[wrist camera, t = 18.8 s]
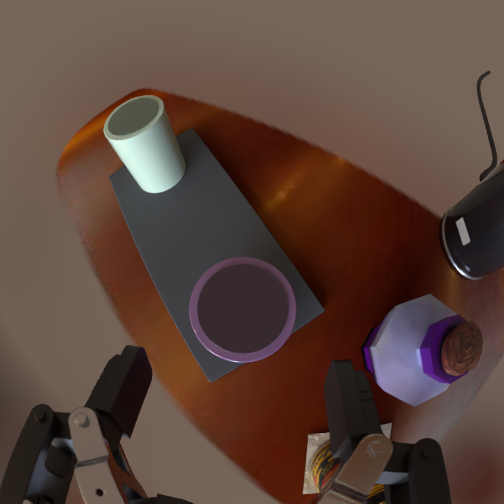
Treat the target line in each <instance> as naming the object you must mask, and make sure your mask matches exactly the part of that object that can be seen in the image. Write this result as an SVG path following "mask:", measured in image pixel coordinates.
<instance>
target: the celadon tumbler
mask: <svg viewBox="0 0 504 504" xmlns="http://www.w3.org/2000/svg"><path fill="white" fill-rule="evenodd" d="M104 134H105V136H106V138H107V139H108V141H109V142H110V144H111V145H112V147H113V148H114V150H115V151H116V153H117V154H118V156H119V157H120V159H121V160H122V162H123V163H124V165H125V166H126V168H127V169H128V171H129V172H130V173H131V175H132V176H133V178H134V179H135V181H136V182H137V184H138V185H139V186H140V188H141V189H143V190H144V191H146V192H150V193H159V192H163V191H166V190H168V189H170V188H172V187H173V186H175V185H176V184H177V183H178V182H179V181H180V180H181V178H182V177H183V175H184V172H185V169H186V162H185V159H184V157H183V154H182V151H181V149H180V146H179V144H178V141H177V138H176V136H175V133H174V130H173V128H172V125H171V122H170V120H169V117H168V114H167V112H166V109H165V106H164V103H163V101H162V100H161V99H160V98H158V97H156V96H151V95H146V96H139V97H136V98H133V99H131V100H128V101H127V102H125V103H123V104H122V105H120V106H119V107H118V108H116V109H115V110H114V111H113V112H112V113H111V114H110V116H109V117H108V119H107V120H106V122H105V125H104Z"/></svg>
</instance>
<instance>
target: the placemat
mask: <svg viewBox="0 0 504 504" xmlns="http://www.w3.org/2000/svg"><path fill="white" fill-rule="evenodd" d="M176 138H177V141H178V144H179V146H180V149H181V151H182V154H183V157H184V159H185V162H186V169H185V172H184V175H183V177H182V178H181V180H180V181H179V182H178V183H177V184H176V185H175V186H173V187H172V188H170V189H168V190H166V191H163V192H159V193H150V192H146V191H144V190H143V189H141V188H140V186H139V185H138V184H137V182H136V181H135V179H134V178H133V176H132V175H131V173H130V172H129V171H128V169H127V168H126V166H124V167H122V168H121V169H119V170H118V171H116V172H115V173H113V174H112V175H110V176H109V178H110V181H111V184H112V186H113V189H114V192H115V195H116V197H117V200H118V202H119V205H120V208H121V210H122V213H123V215H124V218H125V220H126V222H127V225H128V227H129V230H130V232H131V234H132V237H133V239H134V241H135V244H136V246H137V248H138V250H139V252H140V255H141V257H142V259H143V261H144V263H145V266H146V268H147V270H148V272H149V274H150V276H151V278H152V280H153V282H154V284H155V286H156V288H157V290H158V292H159V294H160V296H161V298H162V300H163V302H164V304H165V306H166V308H167V310H168V311H169V313H170V315H171V317H172V319H173V321H174V323H175V324H176V326H177V328H178V330H179V332H180V333H181V335H182V337H183V339H184V340H185V342H186V344H187V345H188V347H189V349H190V351H191V352H192V354H193V356H194V357H195V359H196V361H197V362H198V364H199V366H200V367H201V369H202V370H203V372H204V374H205V375H206V377H207V378H208V380H209V381H210V382H212V381H214V380H216V379H218V378H219V377H221V376H223V375H225V374H227V373H228V372H230V371H232V370H234V369H235V368H237V367H239V366H240V365H242V364H244V363H245V362H233V361H229V360H225V359H223V358H220V357H218V356H216V355H215V354H213V353H212V352H210V351H209V350H208V349H207V348H205V347H204V345H203V344H202V343H201V342H200V341H199V339H198V338H197V336H196V334H195V332H194V330H193V328H192V325H191V321H190V314H189V306H190V299H191V295H192V292H193V289H194V287H195V285H196V283H197V282H198V280H199V279H200V277H201V276H202V275H203V274H204V273H205V272H206V271H207V270H208V269H209V268H211V267H212V266H213V265H215V264H217V263H219V262H221V261H223V260H226V259H229V258H233V257H253V258H257V259H261V260H263V261H266V262H268V263H270V264H271V265H273V266H274V267H276V268H277V269H278V270H279V271H280V272H281V273H282V274H283V275H284V276H285V277H286V278H287V280H288V281H289V283H290V285H291V287H292V289H293V291H294V294H295V298H296V304H297V314H296V321H295V324H294V327H293V330H292V332H291V333H293V332H294V331H296V330H297V329H299V328H300V327H302V326H303V325H305V324H306V323H308V322H309V321H310V320H312V319H313V318H315V317H316V316H318V315H319V314H320V313H322V312H323V311H324V308H323V307H322V305H321V304H320V302H319V301H318V299H317V298H316V296H315V295H314V294H313V292H312V291H311V289H310V288H309V286H308V285H307V283H306V282H305V281H304V279H303V278H302V276H301V275H300V273H299V272H298V271H297V269H296V268H295V266H294V265H293V263H292V262H291V261H290V259H289V258H288V256H287V255H286V254H285V252H284V251H283V249H282V248H281V246H280V245H279V244H278V242H277V241H276V239H275V238H274V237H273V235H272V234H271V233H270V231H269V230H268V228H267V227H266V226H265V224H264V223H263V221H262V220H261V219H260V217H259V216H258V215H257V213H256V212H255V210H254V209H253V208H252V206H251V205H250V204H249V202H248V201H247V200H246V198H245V197H244V195H243V194H242V193H241V191H240V190H239V189H238V187H237V186H236V185H235V183H234V182H233V181H232V179H231V178H230V177H229V175H228V174H227V173H226V171H225V170H224V169H223V167H222V166H221V165H220V163H219V162H218V161H217V159H216V158H215V157H214V155H213V154H212V153H211V151H210V150H209V149H208V147H207V146H206V145H205V144H204V142H203V141H202V140H201V138H200V137H199V136H198V134H197V133H196V132H195V131H194V129H193V128H191V129H189V130H187V131H185V132H183V133H181V134H179V135H177V136H176Z"/></svg>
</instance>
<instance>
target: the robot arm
mask: <svg viewBox="0 0 504 504" xmlns="http://www.w3.org/2000/svg"><path fill="white" fill-rule="evenodd" d="M489 74H490V71H487V72H486V73H484V74H483V75H481V76H480V78H479V79H478V82H477V93H478V100H479V104H480V108H481V112H482V115H483V119H484V123H485V126H486V130H487V134H488V139H489V143H490V146H491V150H492V155H493V161H492V164H491V166H490V167H489V168H488V169H486V170H485V171H484V172H483V173H482V174H481V175H480V183H479V184H478V185H477V186H476V187H475V188H474V189H473V190H472V191H471V192H470V193H469V194H468V195H467V196H465V197H464V198H463V199H462V200H461V201H460V202H459V203H457V204H456V205H455V206H454V207H452V208H451V209H449V210H448V211H447V212H446V213H445V214H444V216H443V217H442V220H441V223H440V242H441V246H442V249H443V252H444V255H445V257H446V259H447V261H448V263H449V264H450V266H451V267H452V269H453V270H454V271H455V272H456V273H457V274H458V275H459V276H460V277H462V278H464V279H466V280H469V281H476V280H478V279H481V278H483V277H485V276H486V275H488V274H490V273H492V272H495V271H497V270H499V269H501V268H504V160H503V161H502V162H501V163H500V164H499V165H498V166H497V167H496V165H497V153H496V148H495V145H494V141H493V138H492V134H491V130H490V126H489V123H488V119H487V116H486V112H485V109H484V105H483V102H482V98H481V92H480V85H481V81H482V80H483V78H485V77H486V76H487V75H489ZM151 380H152V368H151V366H150V363H149V360H148V357H147V355H146V352H145V349H144V348H143V347H137V346H131V345H127V346H126V347H125V348H124V350H123V352H122V353H121V355H117V354H116V355H115V356H114V357H113V358H112V359H110V360H109V361H108V363H107V365H106V366H105V368H104V371H103V372H102V374H101V376H100V379H98V381H97V383H96V385H95V387H94V389H93V391H92V393H91V395H90V397H89V399H88V401H87V403H86V405H85V406H84V407H79V408H77V409H75V410H74V411H72V413H62V412H54V411H53V410H52V409H51V408H50V407H49V406H48V405H45V404H39V405H37V406H35V407H34V408H33V409H32V411H31V412H30V414H29V417H28V418H27V421H26V423H25V425H24V427H23V429H22V431H21V434H20V436H19V438H18V441H17V443H16V445H15V448H14V450H13V453H12V455H11V458H10V460H9V463H8V466H7V468H6V471H5V474H4V477H3V480H2V483H1V486H0V504H65V501H66V498H67V494H68V490H69V487H70V483H71V480H72V476H73V473H74V472H75V475H76V479H77V481H78V485H79V487H80V491H81V493H82V496H83V499H84V501H85V504H193V503H191V502H188V501H186V500H183V499H178V498H173V497H170V496H165V495H161V494H157V497H150V498H148V497H147V495H146V493H145V491H144V490H143V488H142V486H141V485H140V484H139V482H138V481H137V480H136V478H135V476H134V474H133V472H132V470H131V468H130V466H129V463H128V461H127V459H126V456H125V454H124V451H123V449H122V446H121V444H120V440H121V437H122V436H123V437H126V438H129V439H130V438H131V435H132V432H133V429H134V426H135V423H136V421H137V418H138V415H139V412H140V410H141V407H142V404H143V401H144V399H145V396H146V394H147V391H148V388H149V386H150V383H151ZM324 395H325V402H326V409H327V417H328V425H329V433H330V442H331V451H332V458H336V457H340V462H341V464H340V466H339V467H338V468H337V470H336V471H335V473H334V474H333V475H332V477H331V478H330V479H329V481H328V482H327V483H326V484H325V486H324V487H323V488H322V490H321V491H320V492H319V493H318V494H317V496H316V497H315V498H314V499H313V500H312V501H311V502H310V503H309V504H367V501H368V499H367V497H368V495H369V493H370V492H371V490H372V489H373V487H374V485H375V484H376V483H377V484H384V492H385V504H451V497H450V490H449V484H448V479H447V474H446V469H445V464H444V459H443V455H442V451H441V447H440V445H439V444H438V442H437V441H435V440H433V439H430V438H424V439H421V440H419V441H418V442H417V443H415V444H408V443H398V442H394V441H391V440H390V439H389V438H388V437H386V436H385V435H384V433H383V431H382V429H381V425H380V421H379V417H378V413H377V409H376V405H375V401H374V400H373V399H374V397H373V394H372V392H371V387H370V383H369V380H368V378H367V377H366V376H365V375H364V373H363V372H362V371H354V369H353V366H352V362H351V360H350V359H347V360H332V362H331V365H330V368H329V371H328V374H327V377H326V380H325V385H324ZM51 444H52V445H51ZM50 447H51V448H50ZM49 449H50V450H49ZM48 452H49V453H48ZM47 455H48V456H47ZM46 457H47V458H46ZM45 460H46V461H45Z"/></svg>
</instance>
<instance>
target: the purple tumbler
mask: <svg viewBox="0 0 504 504" xmlns="http://www.w3.org/2000/svg"><path fill="white" fill-rule="evenodd" d="M189 314H190V321H191V325H192V328H193V330H194V332H195V334H196V336H197V338H198V339H199V341H200V342H201V343H202V344H203V345H204V347H205V348H207V349H208V350H209V351H210V352H212V353H213V354H215V355H216V356H218V357H220V358H223V359H225V360H229V361H233V362H253V361H257V360H260V359H263V358H266V357H267V356H269V355H271V354H273V353H274V352H275V351H277V350H278V349H279V348H280V347H281V346H282V345H283V344H284V343H285V342H286V340H287V339H288V337H289V336H290V334H291V332H292V330H293V327H294V324H295V321H296V314H297V304H296V298H295V294H294V291H293V289H292V287H291V285H290V283H289V281H288V280H287V278H286V277H285V276H284V275H283V274H282V273H281V272H280V271H279V270H278V269H277V268H276V267H274V266H273V265H271V264H270V263H268V262H266V261H263V260H261V259H257V258H253V257H233V258H229V259H226V260H223V261H221V262H219V263H217V264H215V265H213V266H212V267H211V268H209V269H208V270H207V271H206V272H205V273H204V274H203V275H202V276H201V277H200V279H199V280H198V282H197V283H196V285H195V287H194V289H193V292H192V295H191V299H190V306H189Z"/></svg>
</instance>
